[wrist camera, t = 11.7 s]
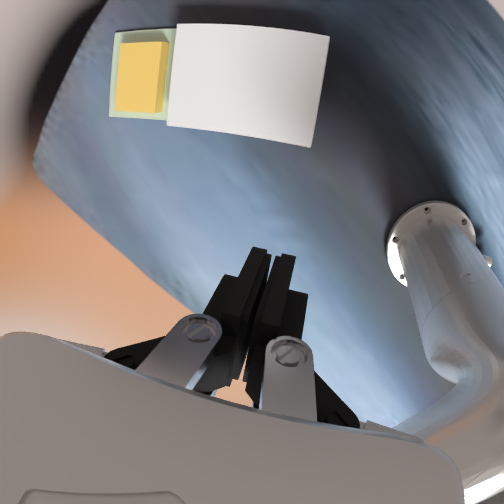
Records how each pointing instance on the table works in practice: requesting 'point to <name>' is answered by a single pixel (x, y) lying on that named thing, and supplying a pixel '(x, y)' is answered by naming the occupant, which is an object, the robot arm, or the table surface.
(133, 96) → the tile
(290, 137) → the plate
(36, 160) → the table surface
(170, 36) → the mat
